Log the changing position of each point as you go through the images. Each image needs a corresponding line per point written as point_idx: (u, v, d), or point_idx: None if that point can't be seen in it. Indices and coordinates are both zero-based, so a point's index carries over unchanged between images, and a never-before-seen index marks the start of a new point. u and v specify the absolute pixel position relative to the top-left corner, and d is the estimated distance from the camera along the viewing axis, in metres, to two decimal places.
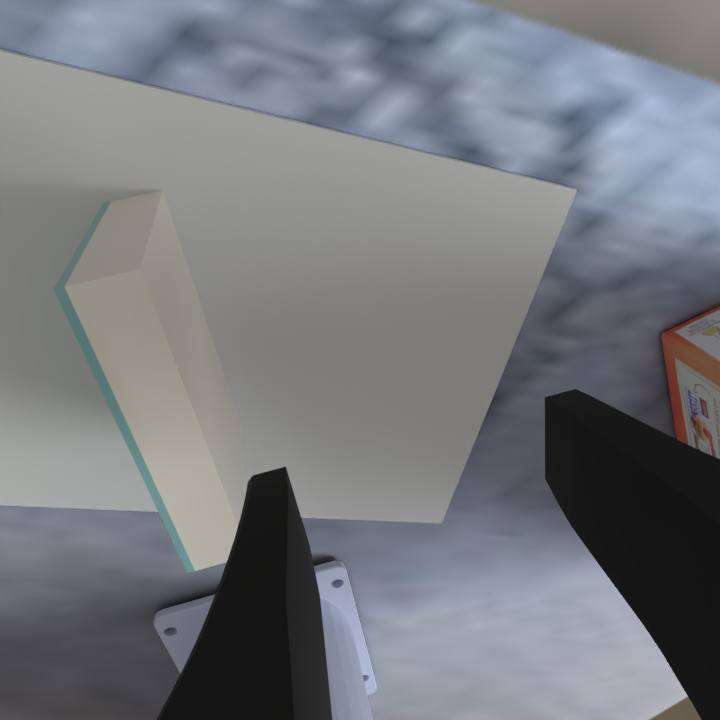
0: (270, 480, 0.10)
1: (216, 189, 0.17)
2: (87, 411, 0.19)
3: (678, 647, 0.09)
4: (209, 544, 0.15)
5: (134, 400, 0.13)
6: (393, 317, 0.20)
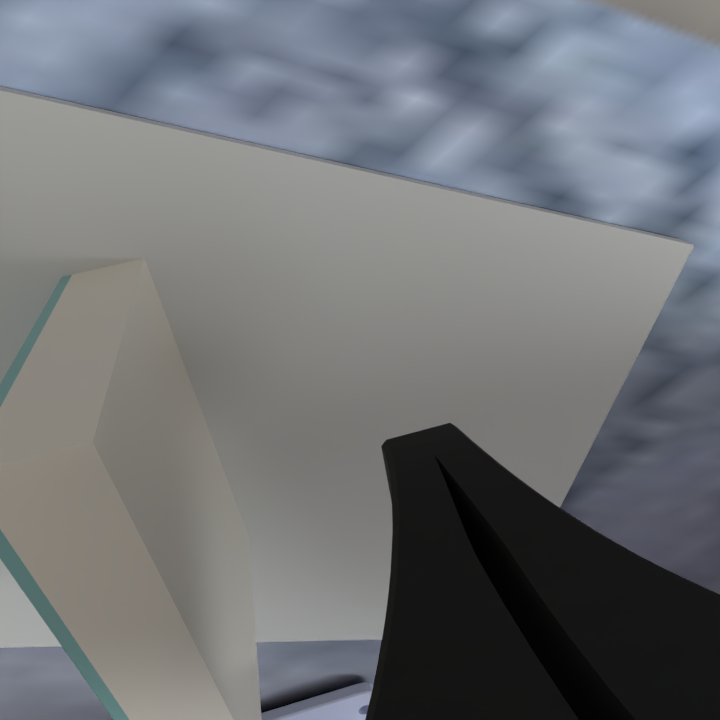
0: (408, 443, 0.10)
1: (219, 255, 0.12)
2: None
3: None
4: None
5: (91, 619, 0.08)
6: (448, 408, 0.15)
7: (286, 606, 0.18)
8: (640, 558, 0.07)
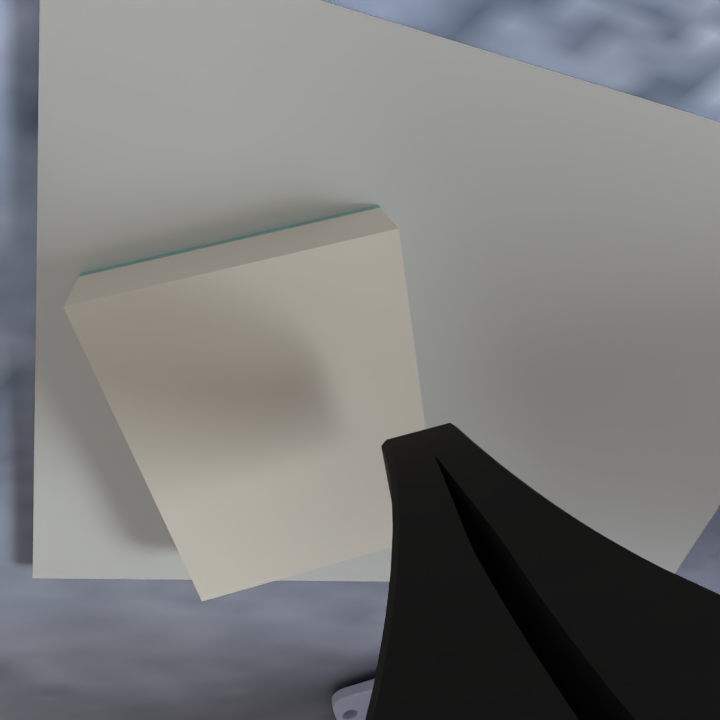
0: (408, 443, 0.10)
1: (520, 185, 0.13)
2: None
3: None
4: None
5: None
6: (682, 346, 0.16)
7: None
8: (640, 558, 0.07)
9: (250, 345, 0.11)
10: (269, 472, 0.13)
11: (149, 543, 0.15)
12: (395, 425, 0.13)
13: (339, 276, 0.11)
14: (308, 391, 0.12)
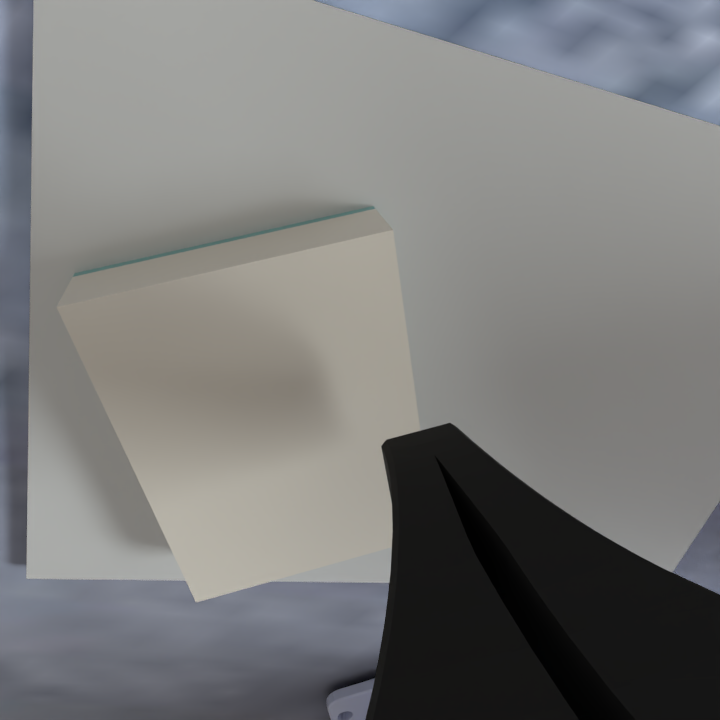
0: (408, 443, 0.10)
1: (515, 187, 0.13)
2: None
3: None
4: None
5: None
6: (677, 348, 0.16)
7: None
8: (640, 558, 0.07)
9: (244, 346, 0.11)
10: (263, 473, 0.13)
11: (144, 544, 0.15)
12: (390, 426, 0.13)
13: (333, 277, 0.11)
14: (302, 392, 0.12)
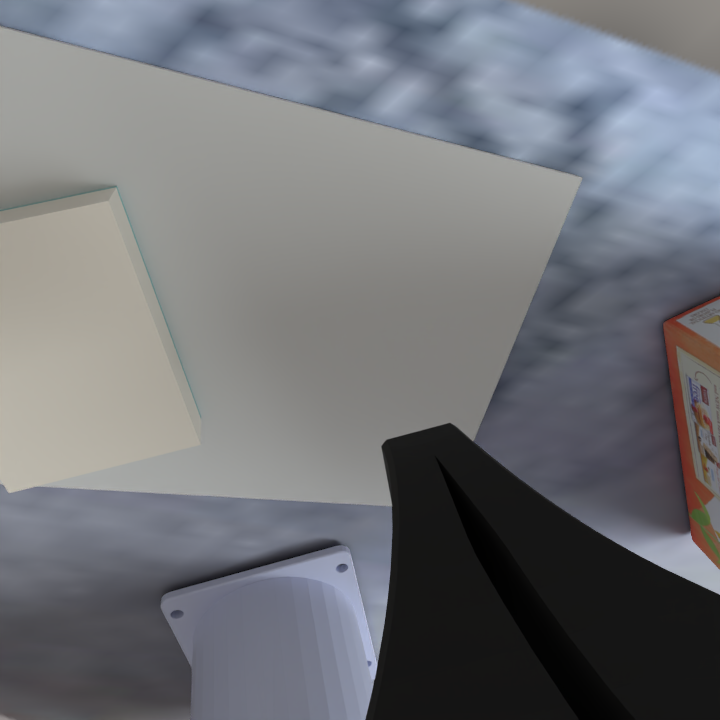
0: (408, 443, 0.10)
1: (230, 172, 0.17)
2: None
3: None
4: None
5: None
6: (401, 302, 0.20)
7: (278, 467, 0.22)
8: (640, 558, 0.07)
9: (9, 286, 0.16)
10: (44, 387, 0.17)
11: None
12: (141, 352, 0.17)
13: (69, 235, 0.15)
14: (63, 323, 0.17)
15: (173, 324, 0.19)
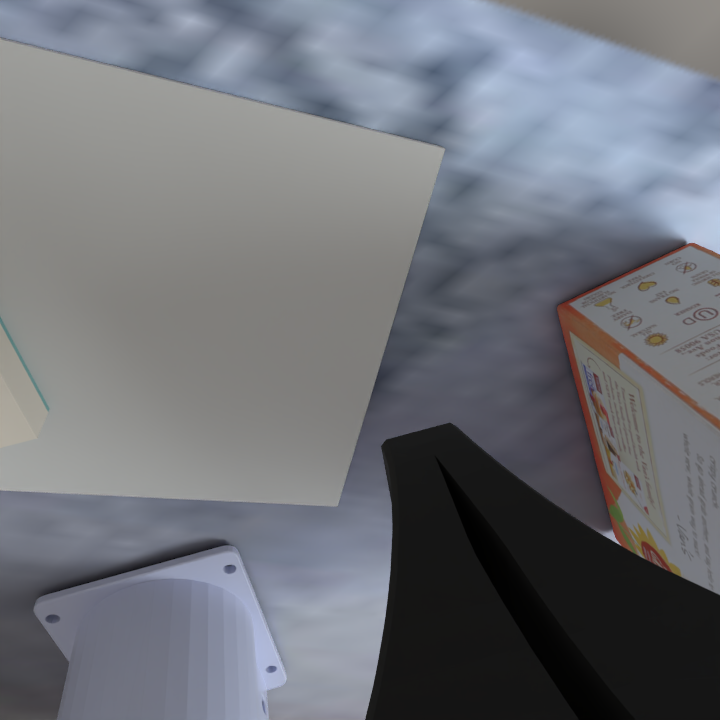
0: (408, 443, 0.10)
1: (42, 142, 0.16)
2: None
3: None
4: None
5: None
6: (257, 284, 0.19)
7: (144, 462, 0.21)
8: (640, 558, 0.07)
9: None
10: None
11: None
12: None
13: None
14: None
15: (2, 308, 0.18)
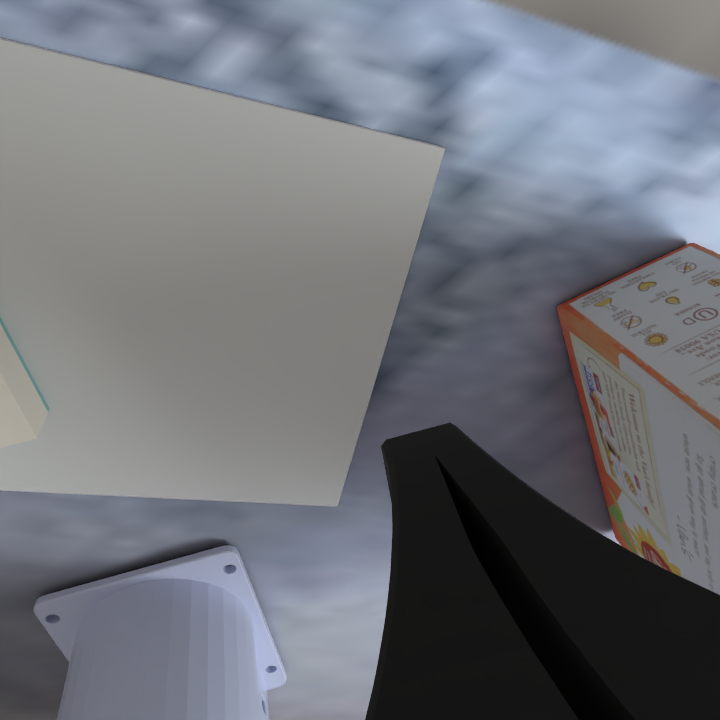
0: (408, 443, 0.10)
1: (42, 142, 0.16)
2: None
3: None
4: None
5: None
6: (257, 284, 0.19)
7: (144, 462, 0.21)
8: (640, 558, 0.07)
9: None
10: None
11: None
12: None
13: None
14: None
15: (2, 308, 0.18)
